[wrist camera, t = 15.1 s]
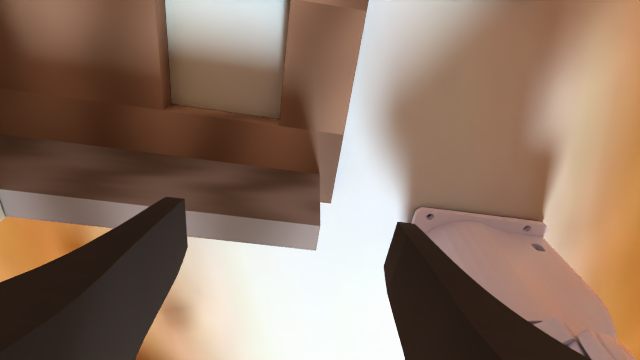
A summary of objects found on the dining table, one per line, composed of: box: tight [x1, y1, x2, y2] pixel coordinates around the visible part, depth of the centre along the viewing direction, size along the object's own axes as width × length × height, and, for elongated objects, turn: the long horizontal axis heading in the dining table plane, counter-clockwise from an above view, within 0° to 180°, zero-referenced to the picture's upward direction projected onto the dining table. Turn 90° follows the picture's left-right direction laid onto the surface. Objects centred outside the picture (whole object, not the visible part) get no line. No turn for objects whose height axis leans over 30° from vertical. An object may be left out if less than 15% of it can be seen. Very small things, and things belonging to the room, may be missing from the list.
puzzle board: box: [0, 0, 369, 250], centre depth 16 cm, size 26×15×7 cm, turn 82°
